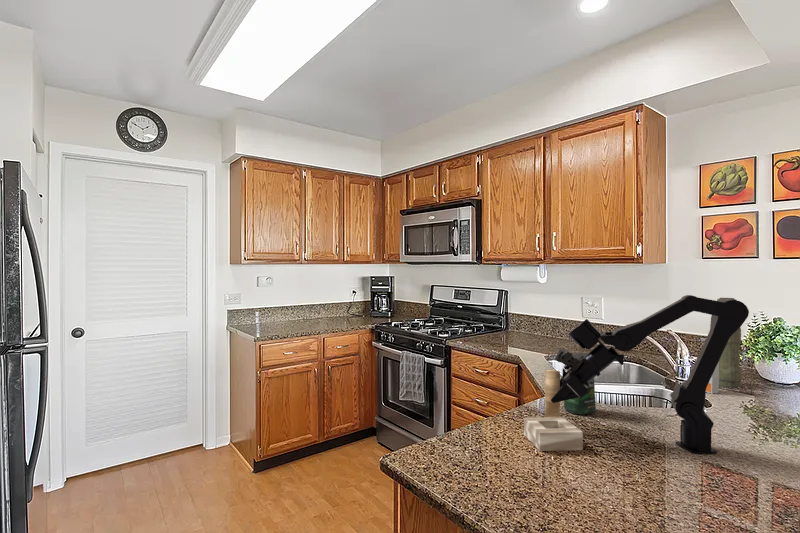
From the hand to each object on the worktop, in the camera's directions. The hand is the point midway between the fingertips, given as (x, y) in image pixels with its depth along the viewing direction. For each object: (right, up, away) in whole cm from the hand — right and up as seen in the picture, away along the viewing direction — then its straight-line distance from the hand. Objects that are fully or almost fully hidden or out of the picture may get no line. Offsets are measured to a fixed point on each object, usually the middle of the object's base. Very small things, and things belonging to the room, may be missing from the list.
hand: (552, 397), depth 122 cm
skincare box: (+73, -10, +39) cm, 83 cm away
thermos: (+87, -11, +48) cm, 100 cm away
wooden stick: (0, -9, 0) cm, 9 cm away
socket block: (-4, -9, -10) cm, 14 cm away
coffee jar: (+14, -9, +15) cm, 23 cm away
